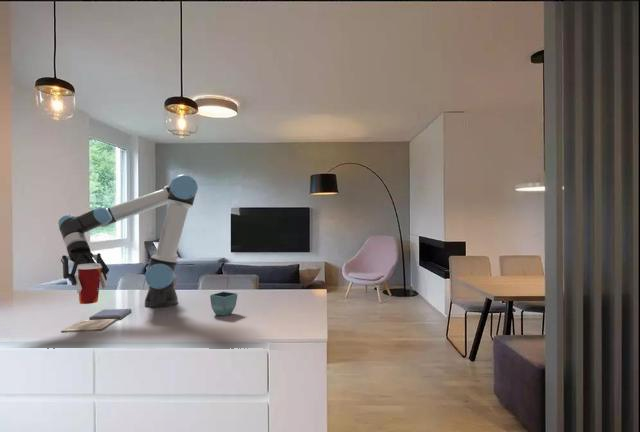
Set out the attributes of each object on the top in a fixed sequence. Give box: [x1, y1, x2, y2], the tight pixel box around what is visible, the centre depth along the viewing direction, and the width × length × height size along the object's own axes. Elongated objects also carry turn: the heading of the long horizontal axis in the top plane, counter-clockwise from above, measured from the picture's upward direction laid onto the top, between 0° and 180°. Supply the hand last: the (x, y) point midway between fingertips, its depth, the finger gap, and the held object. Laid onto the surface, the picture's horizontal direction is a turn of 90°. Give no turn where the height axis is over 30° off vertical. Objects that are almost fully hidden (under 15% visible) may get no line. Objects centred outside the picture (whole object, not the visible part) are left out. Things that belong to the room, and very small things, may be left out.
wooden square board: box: [61, 319, 119, 333], centre depth 134 cm, size 14×14×1 cm
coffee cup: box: [76, 262, 102, 305], centre depth 134 cm, size 8×8×15 cm
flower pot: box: [209, 291, 238, 317], centre depth 152 cm, size 9×9×9 cm
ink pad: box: [88, 308, 132, 320], centre depth 148 cm, size 12×12×2 cm
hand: (92, 289), depth 132 cm, fingers closed on coffee cup, 8 cm apart
